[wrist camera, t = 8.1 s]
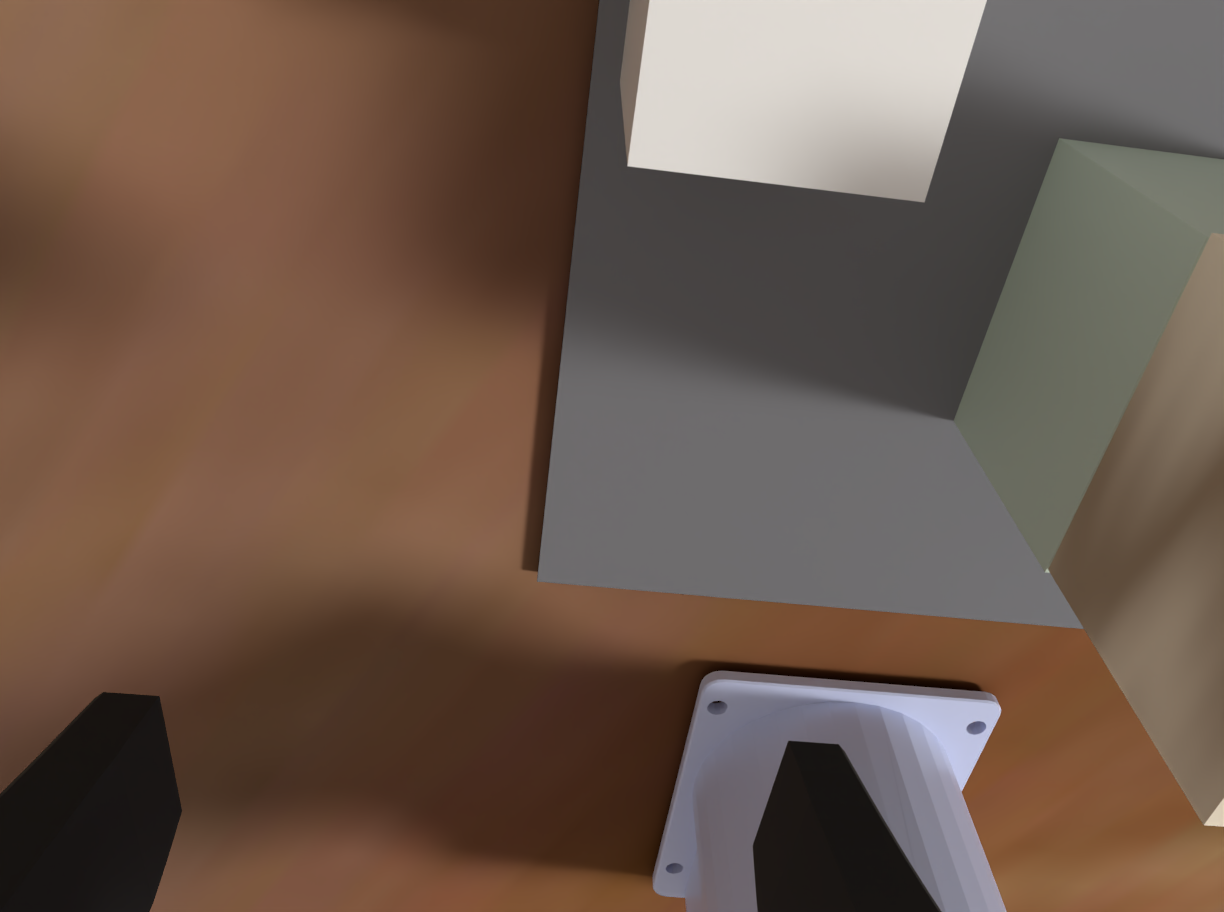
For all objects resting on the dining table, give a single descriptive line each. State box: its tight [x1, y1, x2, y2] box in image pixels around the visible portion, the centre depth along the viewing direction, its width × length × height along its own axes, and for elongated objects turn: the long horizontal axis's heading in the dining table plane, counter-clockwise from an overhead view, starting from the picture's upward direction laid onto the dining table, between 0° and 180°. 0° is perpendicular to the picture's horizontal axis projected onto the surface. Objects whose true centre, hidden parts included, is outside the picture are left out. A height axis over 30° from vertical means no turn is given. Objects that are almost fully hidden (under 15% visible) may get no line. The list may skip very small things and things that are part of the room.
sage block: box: [954, 138, 1224, 573], centre depth 17 cm, size 6×4×5 cm, turn 173°
